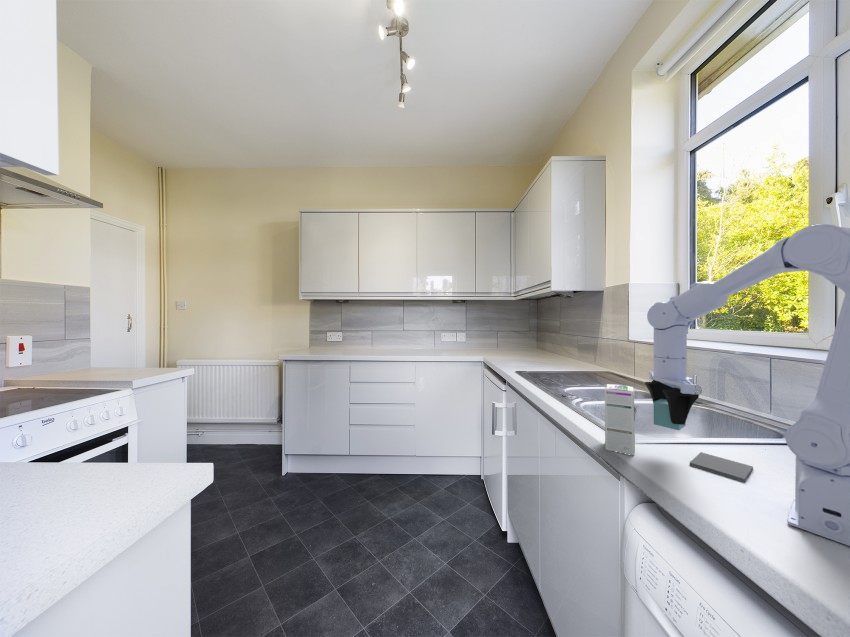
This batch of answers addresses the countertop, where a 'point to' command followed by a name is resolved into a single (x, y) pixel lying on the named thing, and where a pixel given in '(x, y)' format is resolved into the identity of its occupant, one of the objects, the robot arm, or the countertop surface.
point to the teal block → (664, 415)
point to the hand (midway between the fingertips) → (669, 418)
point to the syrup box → (619, 418)
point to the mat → (722, 466)
